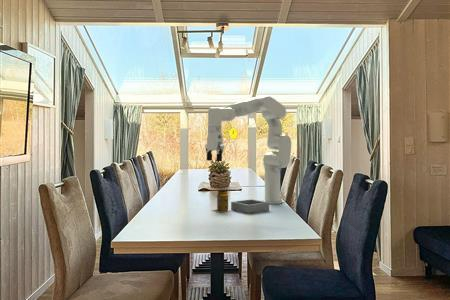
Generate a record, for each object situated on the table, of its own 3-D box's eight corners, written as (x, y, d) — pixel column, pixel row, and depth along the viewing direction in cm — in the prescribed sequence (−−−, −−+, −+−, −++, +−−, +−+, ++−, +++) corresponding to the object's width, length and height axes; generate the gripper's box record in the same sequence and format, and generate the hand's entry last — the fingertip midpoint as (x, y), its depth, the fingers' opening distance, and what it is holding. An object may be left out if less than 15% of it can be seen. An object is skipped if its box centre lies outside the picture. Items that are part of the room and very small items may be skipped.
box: (251, 206, 237) (251, 199, 236) (269, 210, 224) (269, 202, 224) (231, 209, 228) (231, 201, 228) (248, 213, 216) (247, 205, 215)
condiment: (231, 211, 224) (231, 189, 223) (218, 212, 219) (218, 190, 219) (223, 209, 230) (223, 188, 229) (211, 210, 225) (211, 189, 225)
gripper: (229, 129, 219) (228, 161, 219) (211, 130, 233) (211, 160, 233) (217, 129, 215) (217, 161, 215) (200, 130, 229) (200, 160, 229)
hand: (214, 160), depth 224 cm, fingers open, 9 cm apart
